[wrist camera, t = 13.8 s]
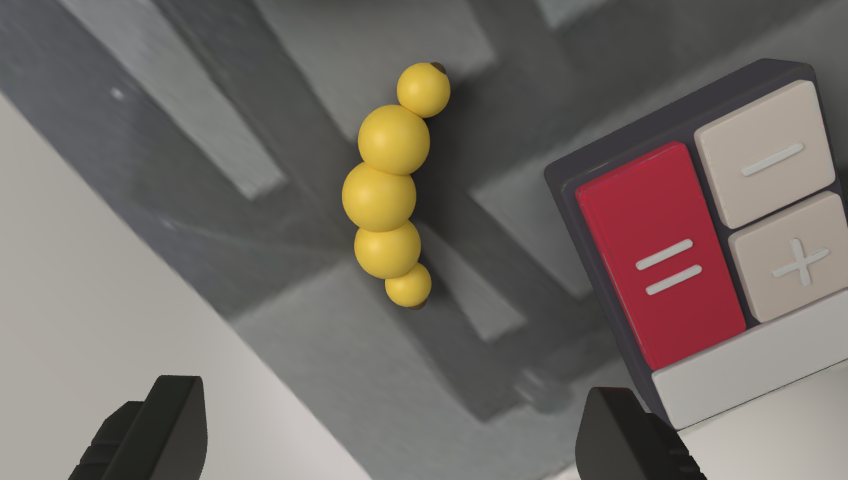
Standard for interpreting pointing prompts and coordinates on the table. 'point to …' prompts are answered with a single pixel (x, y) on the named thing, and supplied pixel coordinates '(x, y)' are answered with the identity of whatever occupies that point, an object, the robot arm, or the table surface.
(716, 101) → the calculator
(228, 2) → the table surface
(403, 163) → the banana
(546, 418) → the table surface
